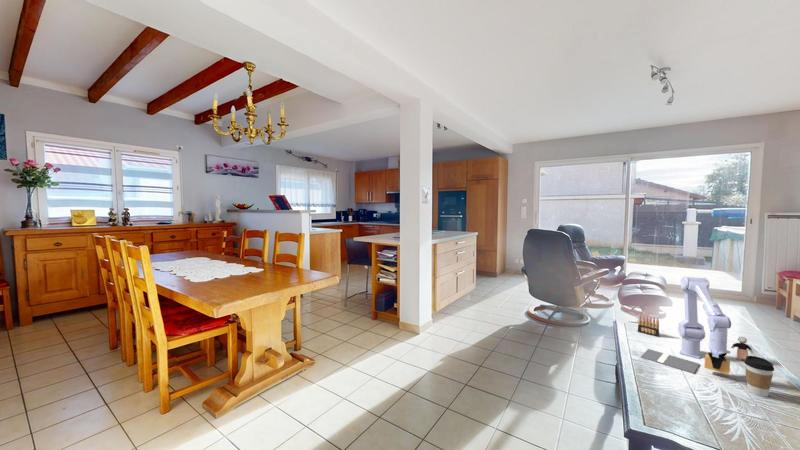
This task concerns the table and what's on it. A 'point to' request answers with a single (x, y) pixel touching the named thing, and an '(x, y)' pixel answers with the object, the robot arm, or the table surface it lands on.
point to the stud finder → (723, 369)
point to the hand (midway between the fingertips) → (717, 366)
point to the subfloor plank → (671, 361)
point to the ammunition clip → (648, 326)
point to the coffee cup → (758, 375)
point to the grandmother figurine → (742, 348)
